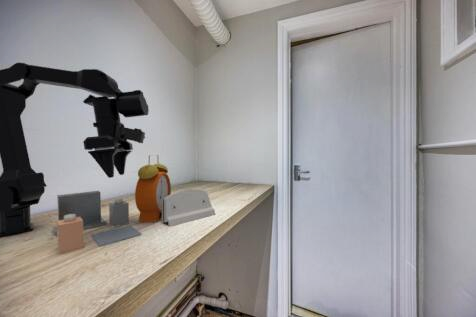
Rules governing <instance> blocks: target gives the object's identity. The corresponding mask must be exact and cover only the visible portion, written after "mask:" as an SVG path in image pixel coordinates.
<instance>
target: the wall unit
mask: <svg viewBox="0 0 476 317" xmlns="http://www.w3.org/2000/svg"><path fill="white" fill-rule="evenodd" d="M56 197H57V221H58V220H64V216H65V215H68V214H76V217H81V219H82V220H83V231H84V230H88V229H92V228H96V227H101V225H102V226H105V225H106V226H107V220H105V218H103V217H102V205H101V204H102V203H101V199H102V198H101V191H99V190H93V191H92V190H91V191H85V192H76V193H75V192H74V193H67V194H58V195H57V196H56ZM52 231H53V232H52V233H53V235H54V237H57V225H56V226H53V227H52Z"/></svg>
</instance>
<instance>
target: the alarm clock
mask: <svg viewBox="0 0 476 317" xmlns="http://www.w3.org/2000/svg"><path fill="white" fill-rule="evenodd" d="M151 156H152V155H148V164H146V165H143V166H141V167H140V168H139V169H138V171H137V176H138V180H137V182H136V184H135V185H136V186H135V193H134V200H135V206H136V208H137V210H138V211H139V217H138V223H156V222H158V221H159V220H160V215H162V205H161V202H162V200H163V198H165V197H167V196H169V195H171V194H172V193H171V190H172V188H171V187H172V186H171V185H172V184H171V180H170V176H169V175H168V172H169V169H168V168H167V166H166V165H164V164H161V163H159V161H157V163H154V164H150V162H151V161H150V160H151ZM156 158H157V160H159V155H157V154H156Z"/></svg>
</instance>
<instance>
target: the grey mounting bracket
mask: <svg viewBox="0 0 476 317" xmlns="http://www.w3.org/2000/svg"><path fill="white" fill-rule="evenodd" d="M208 193H209V192H207V191H206V190H203V189H198V188H197V189H196V188H195V189H193V188H191V189H183V190H178V191H176V192H173V193H171V195H169V196H167V197H165V198H163V200H162V202H161V205H162V214H161V223H162V224H164V223H168V224H167V226H168V227H174V226H178V225H181V224H185V223H189V222H192V221H196V220H197V221H198V220H200V219H203V218H207V217H211V216H215V215H216V212H215V208H214V207H213V206H212V202H211V201H210V200H211V199H210V197H209V194H208Z"/></svg>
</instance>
